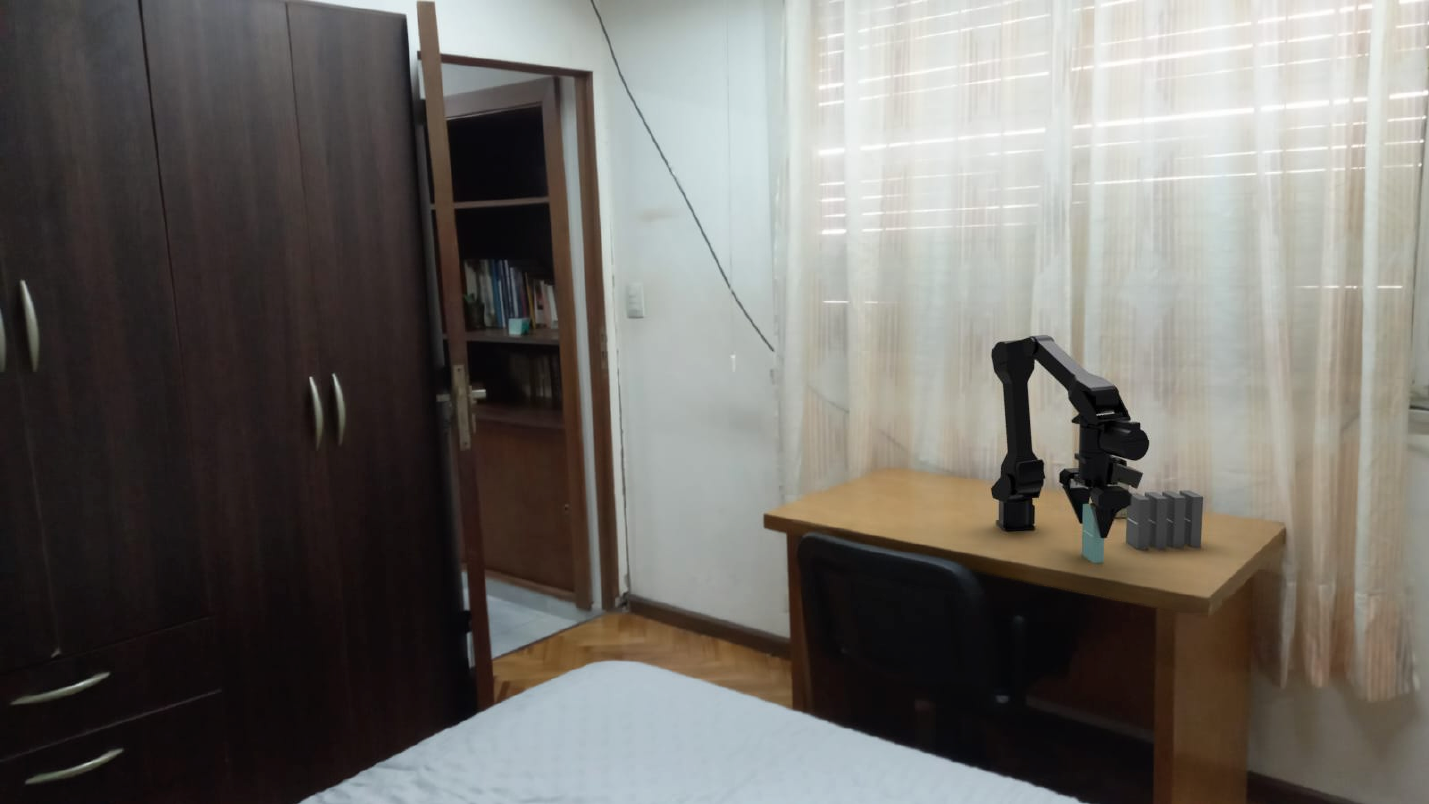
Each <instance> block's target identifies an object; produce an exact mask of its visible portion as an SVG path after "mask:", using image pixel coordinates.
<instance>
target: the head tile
mask: <svg viewBox="0 0 1429 804" xmlns="http://www.w3.org/2000/svg"><path fill="white" fill-rule="evenodd" d="M1081 525H1082V526H1081V528H1082V531H1081V533H1082V534H1081V535H1082V536H1081V555H1082V556H1083V557H1085V558H1086V560H1089V562H1091V563H1092V564H1097V563H1104V561H1105V560H1104V558H1105V556H1104V555H1105V554H1104V553H1105V538H1100V535H1099V532H1098V529H1097V526H1096V522H1095V519H1094V516H1093V512H1092V509H1091V506H1090V503H1089V504H1083V524H1081Z"/></svg>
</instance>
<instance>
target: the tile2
mask: <svg viewBox="0 0 1429 804" xmlns="http://www.w3.org/2000/svg"><path fill="white" fill-rule="evenodd" d="M1130 493H1131V494H1132V505H1131V506H1128V507H1127V517H1126V524H1125V525H1126V526H1125V527H1126V528H1125V543H1127V544H1129V545H1130V546H1132V547H1133V548H1134V549H1136V550H1139V551H1140V550H1143V551H1144V550H1148V549H1149V544H1148V534H1149V507H1150V499H1148V498H1146V497H1145V495H1142V494H1140V493H1139V492H1130Z"/></svg>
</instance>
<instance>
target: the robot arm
mask: <svg viewBox="0 0 1429 804" xmlns="http://www.w3.org/2000/svg"><path fill="white" fill-rule="evenodd" d="M990 355H991V356H990V357H991V361H992V362H991V363H992V368H993V371H994V374H995V375H996V376H997V378H998V380H999V381H1000V382H1001V383H1002V392H1003V393H1002V394H1003V406H1004V407H1003V409H1004V419H1005V435H1006V450H1007V452H1006V455H1005V457H1004V458H1003V460H1002V462H1001V465H1000V477H999V478H998V479H997V480H996V481H995V483H994V484H993V485H992V486H991V487H990V491H991V497H992V499H995V500H996V501H998V519H996V520H995V524H997V525H998V527H1000V528H1001V529H1003V530H1004V531H1005V532H1007V531H1010V532H1011V531H1030V530H1032V531H1033V530H1036V526H1035V524H1036V523H1035V522H1036V517H1035V516H1036V506H1035V504H1033V503H1034V501H1033V500H1034V499H1039V498H1040V496H1041V492H1042V489H1043V487H1044V484H1045V480H1046V478H1047V477H1046V475H1045V462H1044V459H1043V458H1040V459H1039V458H1038V457H1037V455H1036V454H1035V452H1034V450H1033V441H1032V440H1033V439H1032V427H1031V423H1032V422H1031V414H1030V413H1031V411H1030V410H1031V409H1030V397H1029V380H1030V378H1031V376H1032V375H1033V372H1034V370H1035V367H1036V366H1035V365H1036V361H1037V363H1039V364H1040V365H1041V366H1042V367H1043V368H1044V369H1045V370H1046V372H1048V373H1049V374H1050V375H1051V376H1052V377H1053V378H1054V379H1055V380H1056V381H1057V382H1058V383H1059V384H1060V385H1061V386H1063V388H1064V389H1065V390H1066V391H1067V399H1068V401H1069V402H1070V404H1071V405H1072V407H1073V408H1074V409H1075V411H1076V412H1077V415H1076V416H1074V417H1073V418H1072V419H1071V423H1072V424H1076V425H1079V430H1078V439H1079V440H1078V452H1075V453H1074V459H1075V460H1077V461H1078V464H1077V465H1078V467H1073V468H1072V467H1071V468H1063V469H1062V470H1061V471H1060V472H1059V478H1058V479H1059V480H1058V481H1059V482H1058V483H1059V484H1061V485H1062V486H1061V487H1062V489H1063V491H1064V492H1065V494H1066V497H1067V499H1068V501H1069V503H1070V505H1071V507H1072V510H1073V511H1074V515H1075V516H1076V519H1077V521H1078V523H1079V524H1081V525H1082V524H1083V504H1090V506H1091V509H1092V512H1093V516H1094V519H1095V522H1096V526H1097V529H1098V532H1099V535H1100V538H1104V539H1107V538H1108V536H1109V534H1110V531H1111V528H1112V526H1113V524H1114V520H1115V518H1116V517H1115V516H1116V514H1117V513H1118V512H1119V511H1120V510H1122V509H1125V508H1127V507H1128V506H1131V505H1132V494H1131V493H1132V492H1130V490H1129V491H1128V490H1126V489H1124V488H1123V487H1121V486H1108V485H1118V482H1120V483H1123V484H1127V485H1129V487H1131V488H1133V489H1137V490H1138V488H1139V485H1140V483H1141V480H1142V478H1143V475H1144V473H1143V472H1142V471H1140V470H1137V469H1135V468H1133V467H1130V466H1128V461H1127V460H1129V461H1134V462H1136V461H1139V460H1141V459H1143V458H1144V457H1145V456H1146V454H1147V452H1148V451H1149V447H1150V440H1149V438H1148V437H1149V436H1148V435H1147V432H1145V430H1142V429H1141V427H1142V426H1141V422H1139V421H1131V420H1132V418H1131V416H1130V414H1129V409H1128V408H1127V407H1126V405H1125V403H1124V401H1123V399H1122V397H1121V395H1120V391H1119V389H1118V387H1117V386H1116V385H1115V384H1114V383H1112V382H1111V381H1108V380H1107V379H1106V378H1104V377H1102V376H1099V375H1096V374H1093V373H1090V372H1088V371H1087V370H1086V369H1084V368H1083V367H1082V366H1081V365H1080V364H1079V363H1078V362H1077V361H1076V360H1075V359H1074V358H1072V357H1071V356H1070V355H1069V354H1068V353H1067V352H1066V351H1065V350H1064V349H1062V347H1060V346H1059V345H1058V344H1057V343H1056V342H1055V339H1054V337H1052V336H1050V335H1048V334H1041V335H1040V334H1039V335H1029V336H1028V337H1026V338H1023V339H1013V340H1003V341H1002V340H1001V341H998V342H996V343H995V345H994V347H993V348H992V349H991V354H990ZM1090 500H1091V502H1090Z"/></svg>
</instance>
